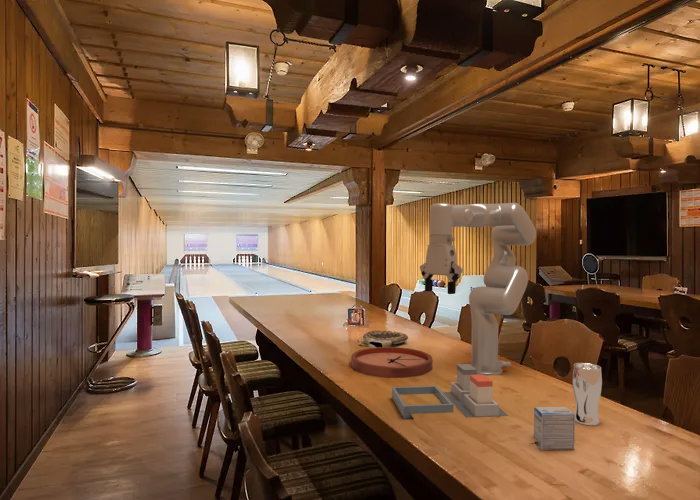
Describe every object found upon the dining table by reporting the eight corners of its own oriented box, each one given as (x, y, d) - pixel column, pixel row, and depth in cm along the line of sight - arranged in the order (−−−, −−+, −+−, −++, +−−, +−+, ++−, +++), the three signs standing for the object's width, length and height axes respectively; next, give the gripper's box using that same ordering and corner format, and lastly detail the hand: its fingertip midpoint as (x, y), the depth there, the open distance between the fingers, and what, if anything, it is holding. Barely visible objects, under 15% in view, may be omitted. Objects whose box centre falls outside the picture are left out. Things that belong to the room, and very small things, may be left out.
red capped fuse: (483, 405, 127) (483, 374, 127) (492, 414, 121) (492, 381, 121) (469, 406, 127) (470, 374, 127) (477, 414, 121) (478, 381, 121)
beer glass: (575, 414, 125) (576, 361, 125) (603, 420, 121) (604, 365, 121) (569, 421, 120) (570, 366, 120) (598, 428, 115) (599, 371, 115)
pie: (358, 336, 228) (358, 327, 227) (411, 338, 226) (412, 328, 226) (356, 350, 200) (357, 339, 199) (418, 352, 199) (418, 340, 198)
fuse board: (479, 395, 140) (479, 381, 140) (508, 421, 120) (508, 404, 120) (442, 396, 139) (442, 382, 139) (465, 422, 119) (465, 406, 119)
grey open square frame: (436, 397, 139) (436, 385, 139) (453, 417, 123) (453, 404, 123) (391, 398, 137) (391, 387, 137) (403, 419, 121) (403, 406, 121)
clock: (351, 346, 189) (424, 346, 189) (351, 356, 189) (424, 356, 190) (351, 367, 158) (440, 367, 158) (351, 379, 158) (440, 379, 158)
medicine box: (565, 441, 108) (565, 406, 108) (575, 450, 104) (575, 413, 103) (533, 442, 108) (533, 406, 108) (541, 450, 103) (542, 413, 103)
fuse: (469, 392, 138) (469, 364, 138) (476, 399, 132) (476, 369, 132) (456, 393, 138) (456, 364, 138) (463, 400, 132) (463, 369, 132)
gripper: (469, 241, 143) (468, 294, 143) (428, 241, 157) (427, 289, 157) (454, 240, 139) (453, 295, 139) (413, 240, 152) (412, 290, 152)
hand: (439, 292), depth 148 cm, fingers open, 9 cm apart
